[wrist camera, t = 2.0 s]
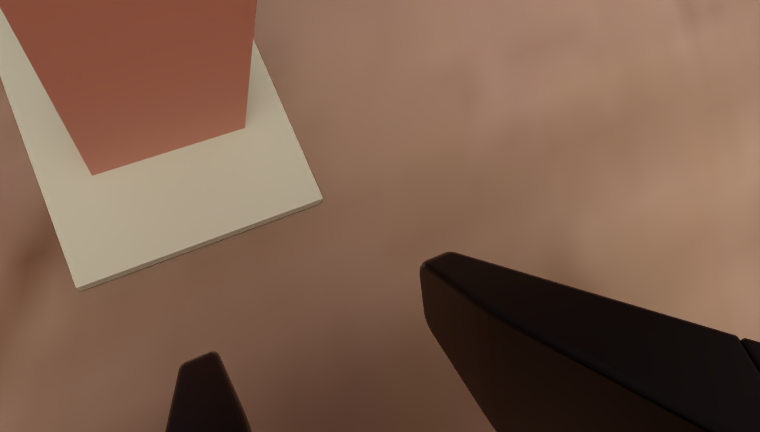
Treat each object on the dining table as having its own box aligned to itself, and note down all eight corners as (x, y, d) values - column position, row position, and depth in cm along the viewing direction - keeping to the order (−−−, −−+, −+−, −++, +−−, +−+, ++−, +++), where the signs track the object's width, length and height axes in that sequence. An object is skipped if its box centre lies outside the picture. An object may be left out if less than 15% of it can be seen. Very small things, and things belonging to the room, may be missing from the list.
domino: (244, 128, 22) (264, -80, 13) (92, 175, 20) (-16, -22, 11) (227, 86, 22) (233, -148, 13) (75, 130, 21) (-44, -100, 11)
